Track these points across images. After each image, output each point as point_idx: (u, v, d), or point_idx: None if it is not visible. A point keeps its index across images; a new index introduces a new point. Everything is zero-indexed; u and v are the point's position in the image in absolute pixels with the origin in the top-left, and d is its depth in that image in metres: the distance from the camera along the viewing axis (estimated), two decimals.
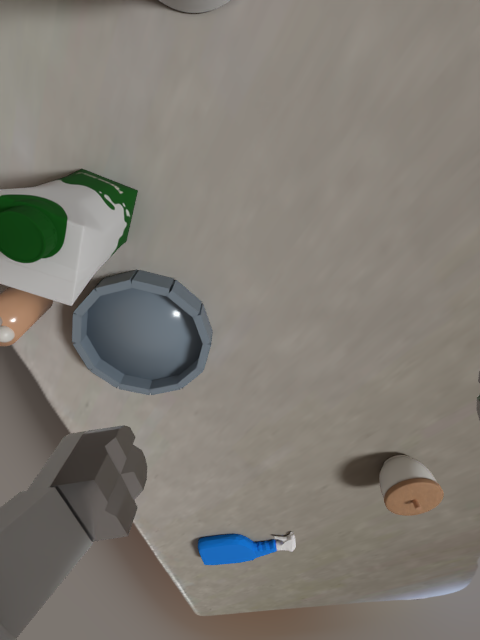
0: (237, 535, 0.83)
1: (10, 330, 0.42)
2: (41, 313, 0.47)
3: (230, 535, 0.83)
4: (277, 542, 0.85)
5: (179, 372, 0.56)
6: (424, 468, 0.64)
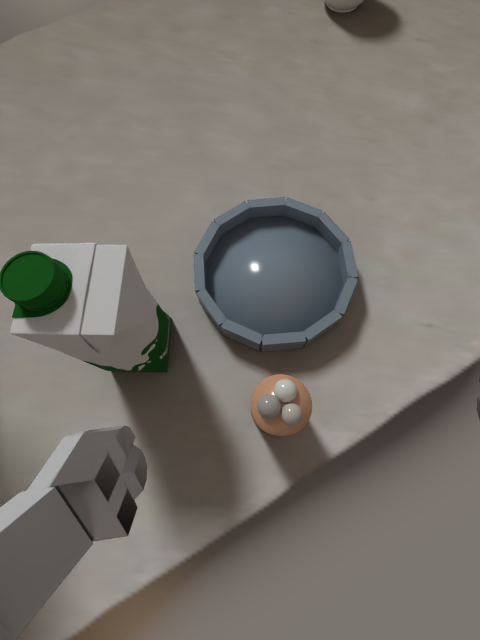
0: None
1: (275, 383, 0.31)
2: None
3: None
4: None
5: (311, 227, 0.46)
6: None
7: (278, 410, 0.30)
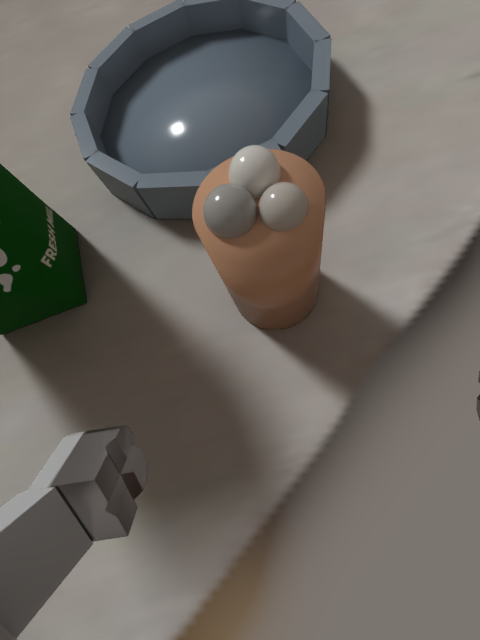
0: None
1: None
2: None
3: None
4: None
5: (237, 31, 0.30)
6: None
7: (248, 202, 0.13)
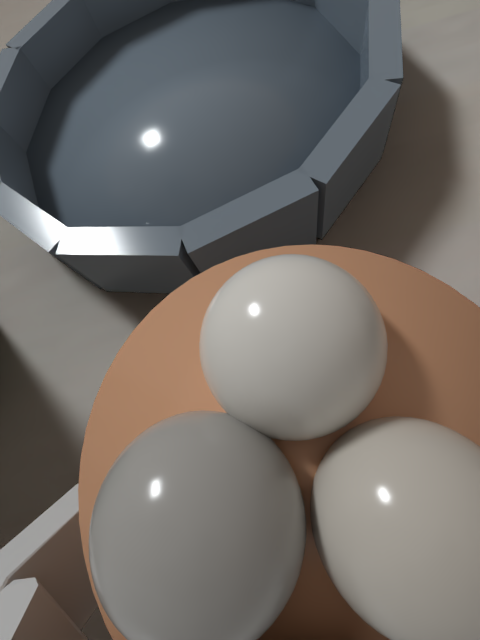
0: None
1: None
2: None
3: None
4: None
5: None
6: None
7: (280, 553, 0.03)
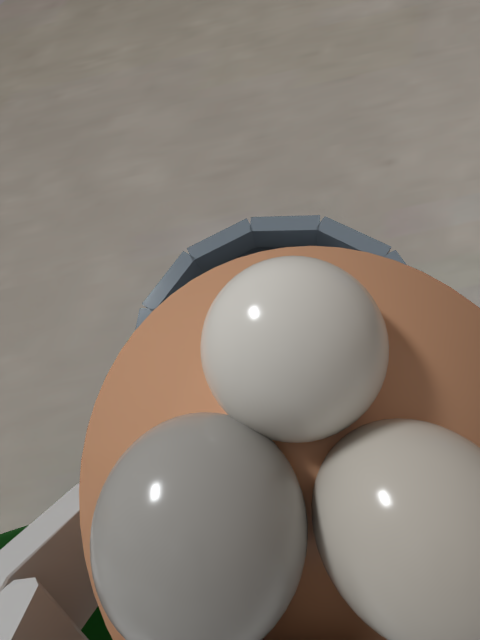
0: None
1: None
2: None
3: None
4: None
5: None
6: None
7: (282, 556, 0.03)
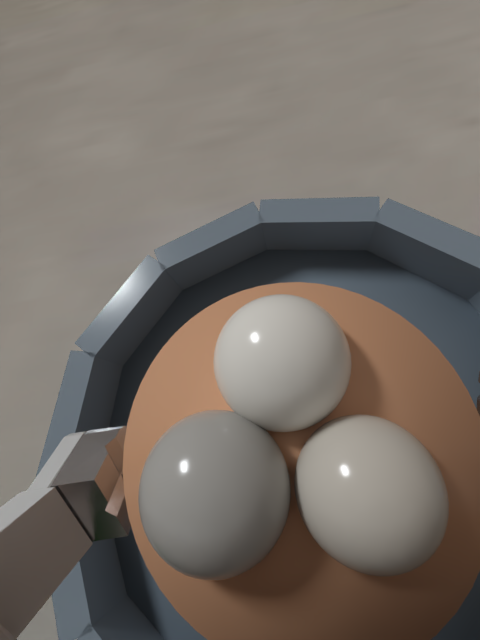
0: None
1: None
2: None
3: None
4: None
5: (356, 255, 0.16)
6: None
7: (270, 505, 0.04)
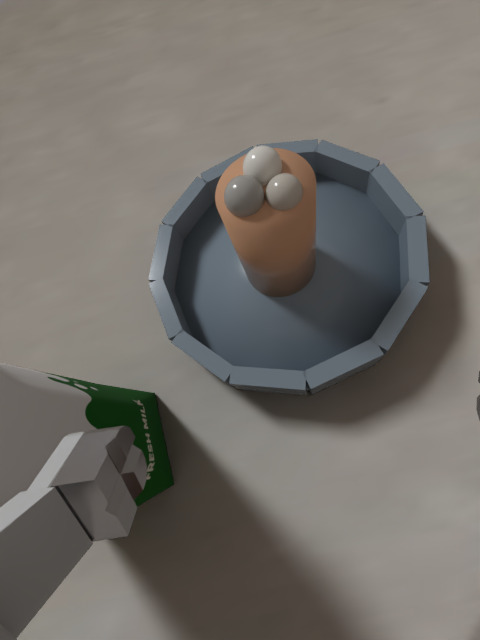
0: None
1: None
2: None
3: None
4: None
5: None
6: None
7: (258, 188, 0.17)
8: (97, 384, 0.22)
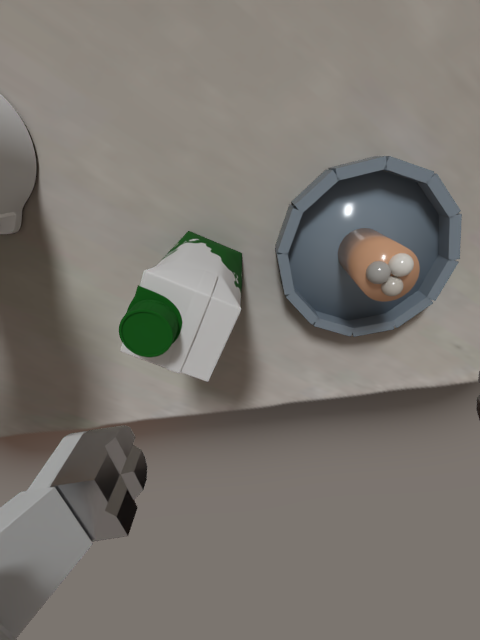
0: None
1: (396, 255, 0.31)
2: (385, 236, 0.36)
3: None
4: None
5: (434, 213, 0.38)
6: None
7: (385, 281, 0.31)
8: (232, 259, 0.36)
